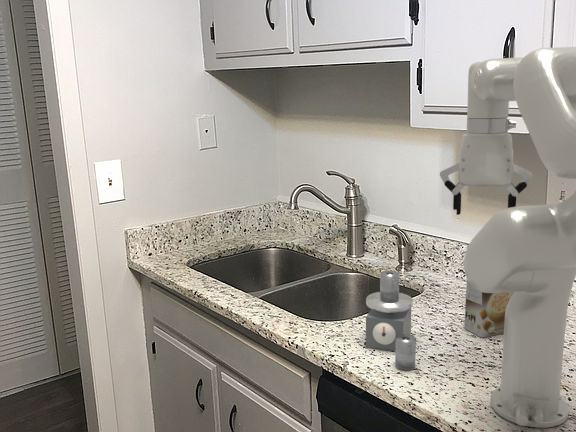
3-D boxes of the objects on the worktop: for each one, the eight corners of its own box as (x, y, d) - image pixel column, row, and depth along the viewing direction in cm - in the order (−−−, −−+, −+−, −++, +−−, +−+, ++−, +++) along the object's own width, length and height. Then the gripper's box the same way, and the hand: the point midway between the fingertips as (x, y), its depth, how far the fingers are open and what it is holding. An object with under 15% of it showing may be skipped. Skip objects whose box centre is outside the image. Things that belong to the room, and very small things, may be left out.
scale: (402, 353, 126) (402, 322, 124) (364, 348, 129) (364, 318, 127) (410, 333, 136) (411, 304, 134) (375, 328, 139) (376, 300, 137)
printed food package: (481, 339, 132) (485, 269, 128) (463, 328, 138) (466, 261, 134) (515, 331, 135) (519, 263, 131) (495, 321, 141) (499, 255, 137)
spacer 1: (400, 297, 131) (400, 271, 130) (396, 303, 128) (397, 277, 126) (382, 295, 133) (382, 269, 131) (378, 301, 129) (378, 275, 128)
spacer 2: (412, 372, 118) (413, 344, 117) (392, 368, 120) (393, 340, 119) (417, 363, 122) (418, 336, 120) (398, 360, 123) (398, 332, 122)
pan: (408, 321, 125) (408, 310, 124) (361, 316, 128) (361, 305, 128) (415, 304, 134) (416, 293, 133) (371, 299, 137) (371, 289, 137)
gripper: (534, 125, 116) (529, 212, 120) (442, 126, 122) (440, 209, 125) (536, 128, 109) (531, 220, 113) (439, 129, 115) (437, 216, 118)
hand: (483, 214), depth 119 cm, fingers open, 9 cm apart
